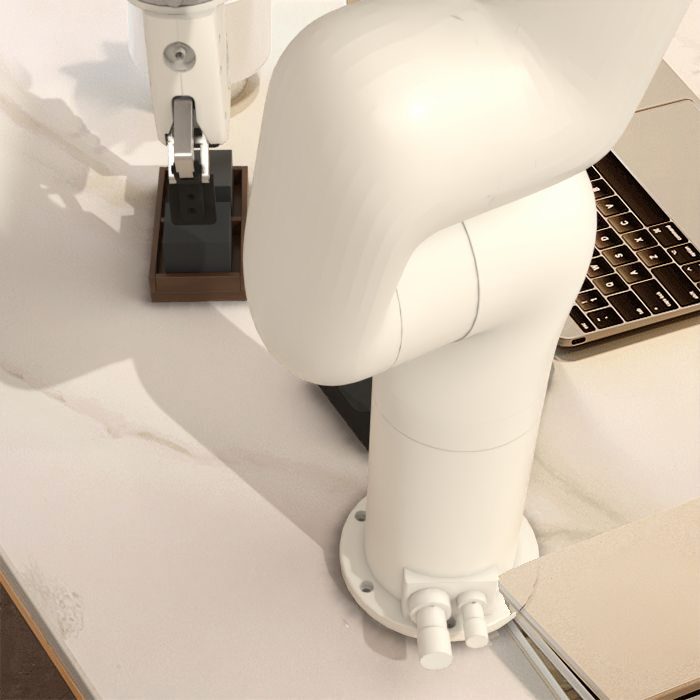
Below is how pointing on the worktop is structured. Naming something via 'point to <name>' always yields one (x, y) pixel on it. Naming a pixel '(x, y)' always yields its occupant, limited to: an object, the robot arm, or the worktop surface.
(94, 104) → the worktop surface
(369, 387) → the vhs tape
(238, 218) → the partitioned wooden crate
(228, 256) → the block
